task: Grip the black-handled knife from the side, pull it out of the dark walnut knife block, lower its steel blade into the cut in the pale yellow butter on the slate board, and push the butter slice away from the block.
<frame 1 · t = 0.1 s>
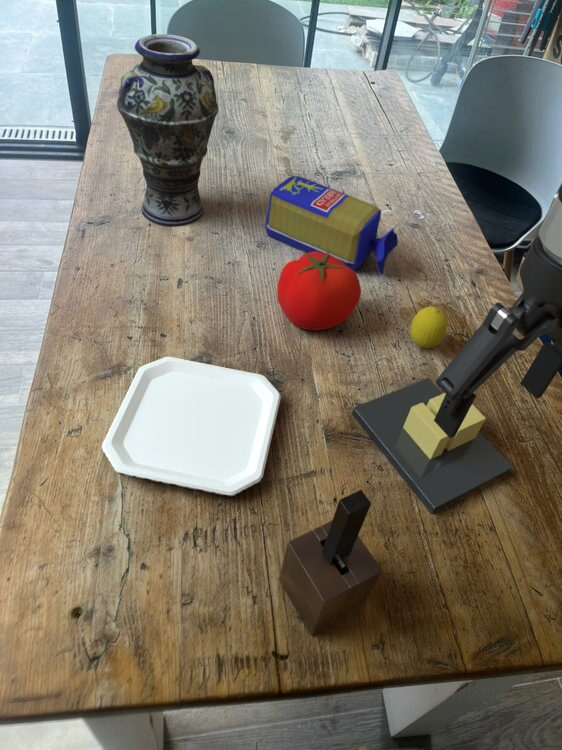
hand: (489, 408, 66), 16 cm above the table, tool pointing down, fingers open, 13 cm apart
bread: (326, 249, 111), on the table
plate: (196, 429, 79), on the table
board: (428, 443, 81), on the table
knife: (336, 552, 58), in the knife block
knife block: (320, 592, 65), on the table
butter slice: (421, 440, 80), point 1 cm above the table, touching board
butter: (447, 429, 81), point 1 cm above the table, touching board
tomato: (313, 318, 97), on the table
vase: (171, 209, 115), on the table
lemon: (421, 346, 95), on the table
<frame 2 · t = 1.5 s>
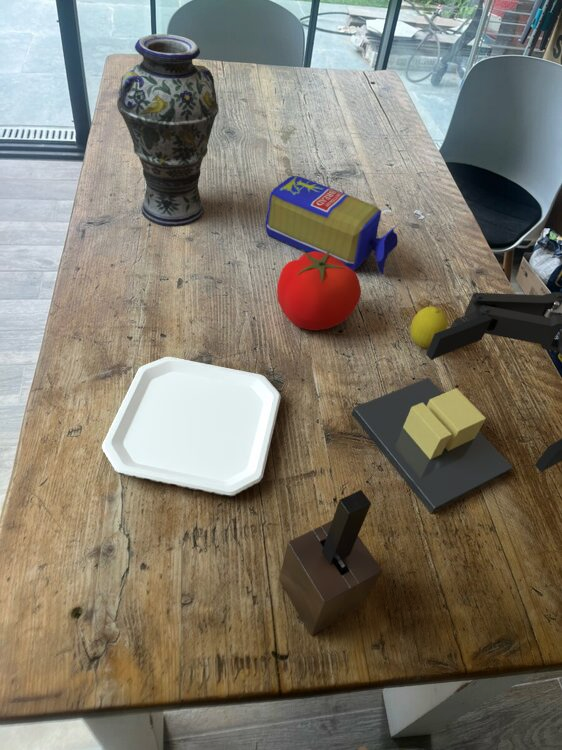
hand: (484, 399, 49), 28 cm above the table, tool horizontal, fingers open, 13 cm apart
nothing on the table moved.
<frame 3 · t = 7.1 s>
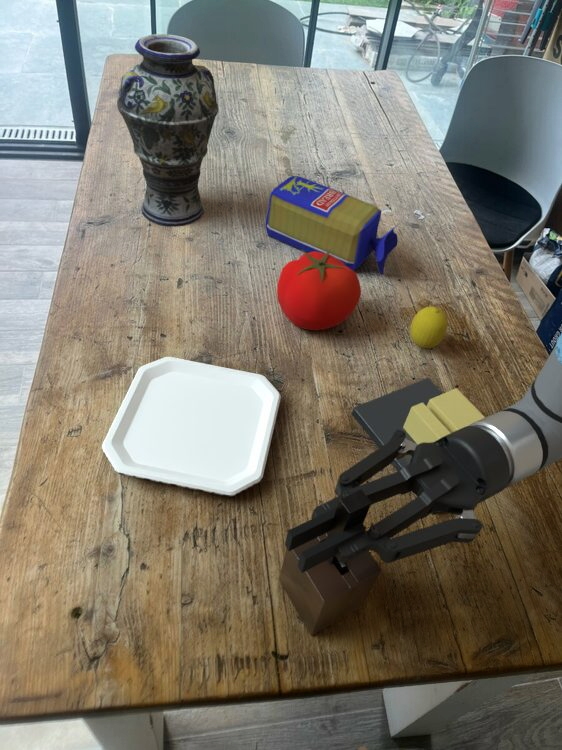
hand: (295, 551, 52), 15 cm above the table, tool horizontal, fingers closed on knife, 2 cm apart
knife: (336, 552, 58), in the knife block, touching gripper
everything else where it was.
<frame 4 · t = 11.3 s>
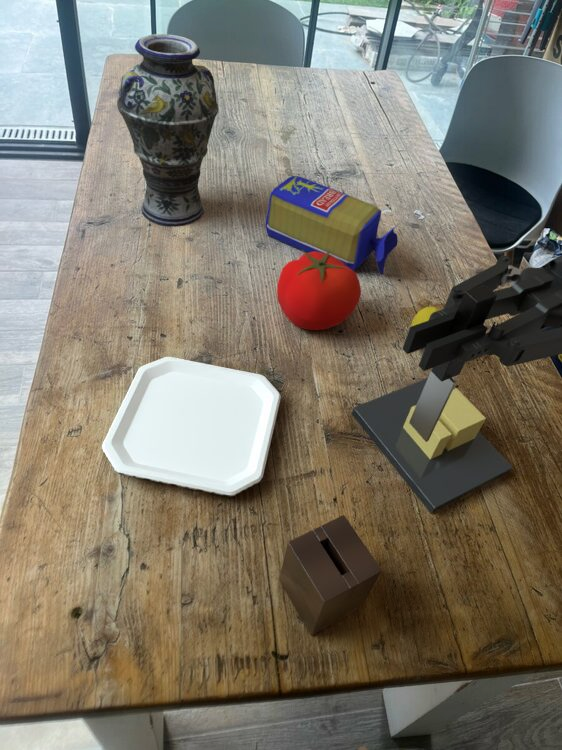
hand: (417, 349, 51), 29 cm above the table, tool horizontal, fingers closed on knife, 2 cm apart
knife: (446, 371, 57), point 24 cm above the table, touching gripper
everything else where it was.
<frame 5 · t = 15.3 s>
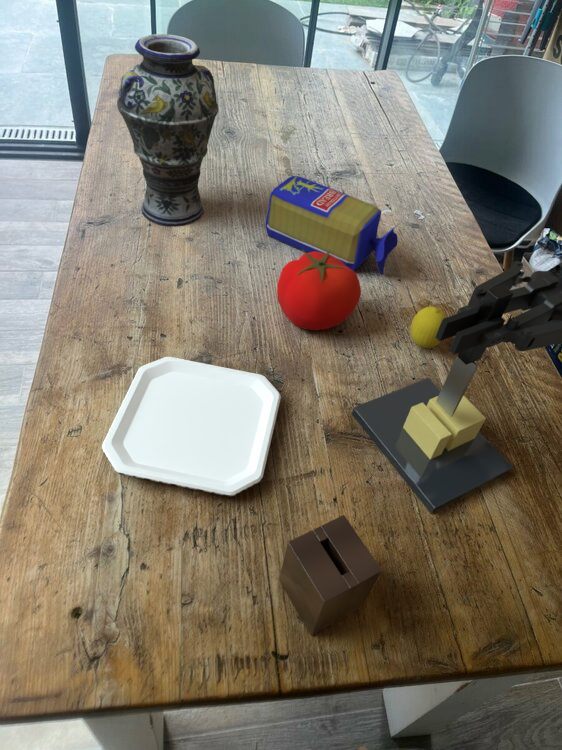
hand: (448, 336, 63), 23 cm above the table, tool horizontal, fingers closed on knife, 2 cm apart
knife: (469, 356, 69), point 17 cm above the table, touching gripper
everything else where it was.
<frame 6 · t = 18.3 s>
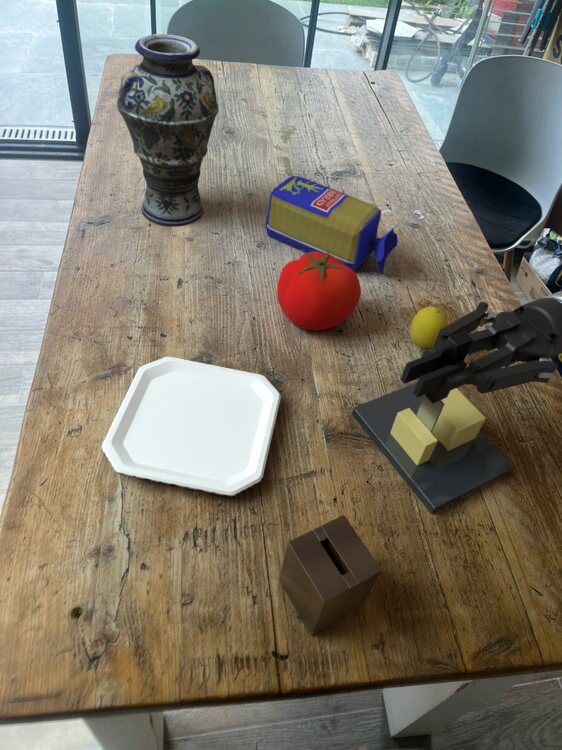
hand: (412, 380, 65), 17 cm above the table, tool horizontal, fingers closed on knife, 2 cm apart
knife: (436, 394, 72), point 12 cm above the table, touching gripper
butter slice: (409, 446, 79), point 2 cm above the table, touching board
everything else where it was.
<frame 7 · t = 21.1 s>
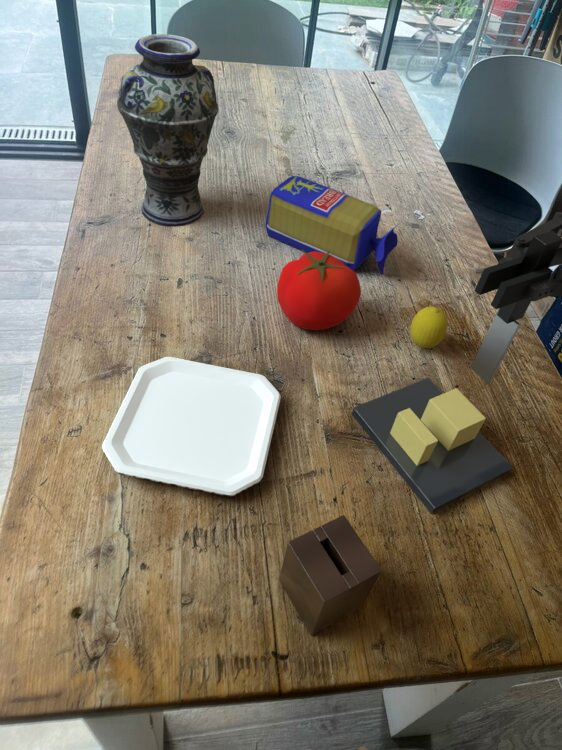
hand: (490, 289, 56), 31 cm above the table, tool horizontal, fingers closed on knife, 2 cm apart
knife: (510, 314, 62), point 25 cm above the table, touching gripper
everything else where it was.
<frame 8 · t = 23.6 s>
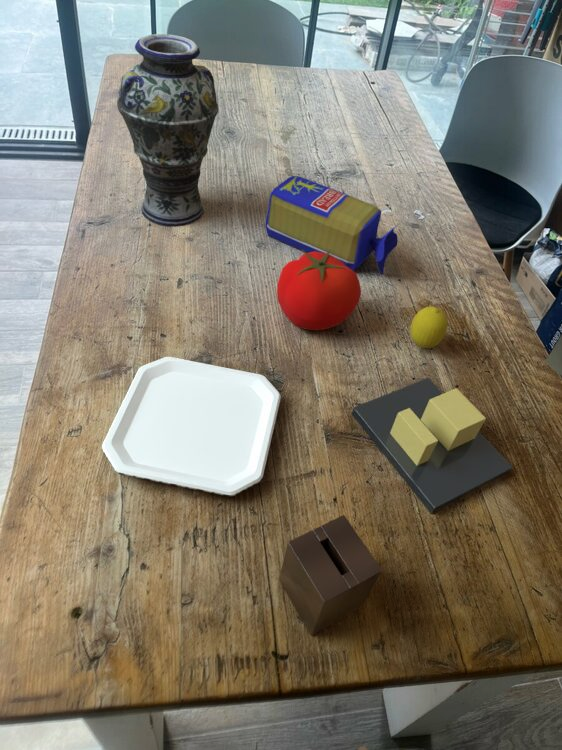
at the end: butter slice moved 2.3 cm from its start; butter slice inside the target area on the board (3.8 cm from its centre), point 1.5 cm above the board's base; the gripper is holding knife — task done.
